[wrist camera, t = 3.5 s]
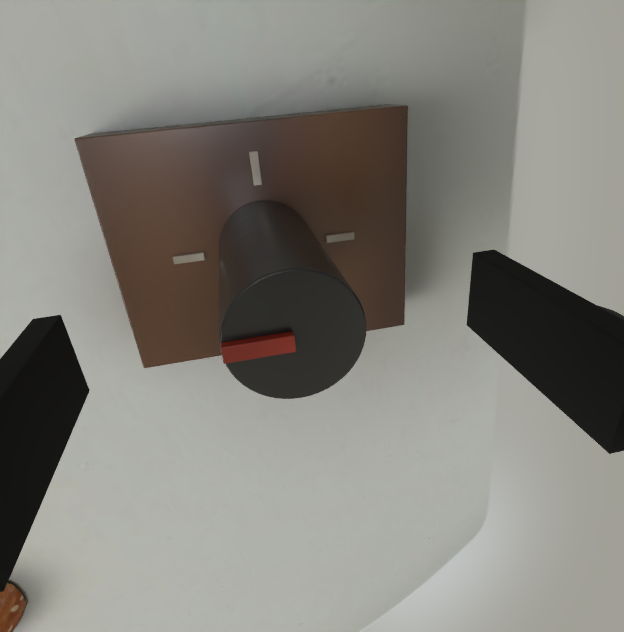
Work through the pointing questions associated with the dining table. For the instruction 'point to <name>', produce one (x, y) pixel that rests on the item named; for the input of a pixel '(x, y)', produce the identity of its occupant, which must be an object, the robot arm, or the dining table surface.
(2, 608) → the bread slice
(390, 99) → the dining table surface
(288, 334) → the dial knob
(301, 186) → the dial panel
